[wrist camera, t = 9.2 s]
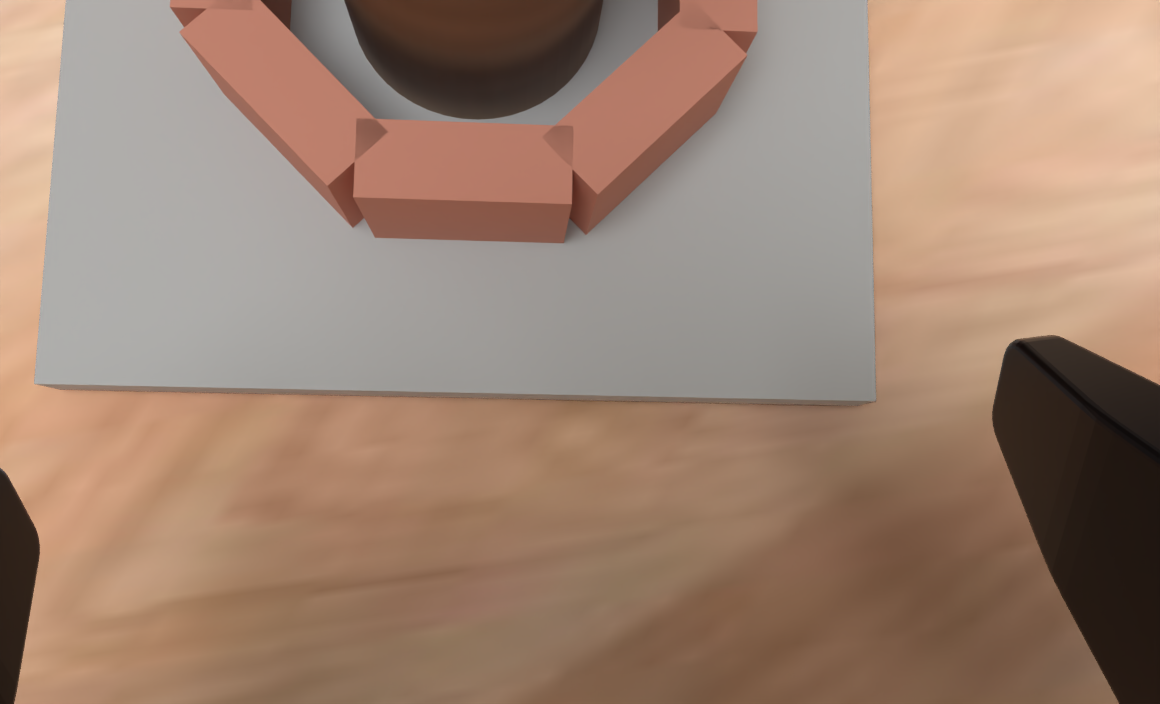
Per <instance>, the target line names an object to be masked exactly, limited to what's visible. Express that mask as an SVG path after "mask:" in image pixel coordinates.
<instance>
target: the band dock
mask: <svg viewBox="0 0 1160 704" xmlns="http://www.w3.org/2000/svg"><path fill="white" fill-rule="evenodd" d="M34 384H37V385H42V386H46V387H51V388H55V389H60V390H104V391H153V392H202V393H252V394H301V395H350V396H400V397H449V398H498V399H547V400H597V401H646V402H695V403H745V404H794V405H843V406H858V405H862V404H867V403H871V402H875V401H876V371H875V326H874V280H873V235H872V190H871V144H870V99H869V54H868V8H867V0H603V5H602V10H601V16H600V21H599V26H598V31H597V34H596V37H595V40H594V43H593V46H592V48H591V50H590V52H589V54H588V56H587V58H586V60H585V62H584V63H583V65H582V66H581V67H580V69H579V70H578V72H577V73H576V74H575V75H574V77H573V78H572V79H571V80H570V81H569V82H568V83H567V84H566V85H565V86H564V87H563V88H562V89H560V90H559V91H558V92H557V93H556V94H555V95H553V96H552V97H550V98H548V99H547V100H545V101H544V102H542V103H541V104H539V105H536V106H534V107H532V108H530V109H528V110H526V111H523V112H520V113H517V114H514V115H510V116H505V117H500V118H495V119H479V120H476V119H461V118H455V117H450V116H445V115H442V114H439V113H436V112H432V111H429V110H427V109H425V108H423V107H421V106H419V105H416V104H414V103H412V102H411V101H409V100H408V99H406V98H405V97H403V96H402V95H400V94H399V93H397V92H396V91H395V90H394V89H393V88H392V87H390V86H389V85H388V84H387V83H386V82H385V81H384V80H383V79H382V78H381V77H380V76H379V75H378V73H377V72H376V71H375V70H374V68H373V67H372V65H371V64H370V63H369V61H368V60H367V58H366V56H365V54H364V52H363V51H362V49H361V47H360V45H359V42H358V39H357V37H356V34H355V31H354V28H353V25H352V22H351V19H350V16H349V13H348V10H347V7H346V5H345V2H344V0H66V6H65V18H64V30H63V42H62V54H61V66H60V78H59V90H58V102H57V114H56V126H55V138H54V150H53V162H52V174H51V186H50V198H49V211H48V223H47V235H46V247H45V259H44V271H43V283H42V295H41V307H40V319H39V331H38V343H37V355H36V367H35V379H34Z"/></svg>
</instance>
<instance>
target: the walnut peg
mask: <svg viewBox="0 0 1160 704" xmlns="http://www.w3.org/2000/svg"><path fill="white" fill-rule="evenodd" d="M344 2H345V5H346V7H347V10H348V13H349V16H350V19H351V22H352V25H353V28H354V31H355V34H356V37H357V39H358V42H359V45H360V47H361V49H362V51H363V52H364V54H365V56H366V58H367V60H368V61H369V63H370V64H371V65H372V67H373V68H374V70H375V71H376V72H377V73H378V75H379V76H380V77H381V78H382V79H383V80H384V81H385V82H386V83H387V84H388V85H389V86H390V87H392V88H393V89H394V90H395V91H396V92H397V93H399V94H400V95H402V96H403V97H405V98H406V99H408V100H409V101H411V102H412V103H414V104H416V105H419V106H421V107H423V108H425V109H427V110H429V111H432V112H436V113H439V114H442V115H445V116H450V117H455V118H461V119H476V120H479V119H495V118H500V117H505V116H510V115H514V114H517V113H520V112H523V111H526V110H528V109H530V108H532V107H534V106H536V105H539V104H541V103H542V102H544V101H545V100H547V99H548V98H550V97H552V96H553V95H555V94H556V93H557V92H558V91H559V90H560V89H562V88H563V87H564V86H565V85H566V84H567V83H568V82H569V81H570V80H571V79H572V78H573V77H574V75H575V74H576V73H577V72H578V70H579V69H580V67H581V66H582V65H583V63H584V62H585V60H586V58H587V56H588V54H589V52H590V50H591V48H592V46H593V43H594V40H595V37H596V34H597V31H598V26H599V21H600V16H601V10H602V5H603V0H344Z"/></svg>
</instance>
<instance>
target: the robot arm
mask: <svg viewBox="0 0 1160 704" xmlns="http://www.w3.org/2000/svg"><path fill="white" fill-rule="evenodd" d="M992 420H993V427H994V432H995V435H996V438H997V441H998V443H999V446H1000V448H1001V451H1002V453H1003V456H1004V458H1005V461H1006V463H1007V466H1008V469H1009V471H1010V474H1011V476H1012V479H1013V481H1014V484H1015V486H1016V489H1017V491H1018V494H1019V497H1020V499H1021V502H1022V504H1023V507H1024V509H1025V512H1026V514H1027V517H1028V519H1029V522H1030V524H1031V527H1032V530H1033V532H1034V535H1035V537H1036V540H1037V542H1038V545H1039V547H1040V550H1041V552H1042V555H1043V557H1044V559H1045V562H1046V564H1047V566H1048V569H1049V571H1050V573H1051V575H1052V577H1053V579H1054V581H1055V583H1056V585H1057V587H1058V589H1059V591H1060V593H1061V595H1062V597H1063V599H1064V601H1065V603H1066V605H1067V607H1068V609H1069V610H1070V612H1071V614H1072V616H1073V618H1074V620H1075V622H1076V624H1077V625H1078V627H1079V629H1080V631H1081V633H1082V635H1083V637H1084V638H1085V640H1086V642H1087V644H1088V646H1089V648H1090V650H1091V652H1092V653H1093V655H1094V657H1095V659H1096V661H1097V663H1098V665H1099V666H1100V668H1101V670H1102V672H1103V674H1104V676H1105V678H1106V680H1107V681H1108V683H1109V685H1110V687H1111V689H1112V691H1113V693H1114V695H1115V696H1116V698H1117V700H1118V702H1119V704H1160V385H1158V384H1156V383H1154V382H1152V381H1150V380H1148V379H1146V378H1144V377H1142V376H1140V375H1138V374H1136V373H1134V372H1132V371H1130V370H1128V369H1126V368H1124V367H1122V366H1120V365H1118V364H1115V363H1113V362H1111V361H1109V360H1107V359H1105V358H1103V357H1101V356H1099V355H1097V354H1095V353H1093V352H1091V351H1089V350H1087V349H1085V348H1083V347H1081V346H1079V345H1077V344H1075V343H1073V342H1070V341H1068V340H1066V339H1064V338H1062V337H1060V336H1055V335H1047V336H1039V337H1031V338H1023V339H1017V340H1015V341H1013V342H1011V343H1010V344H1009V346H1008V347H1007V349H1006V351H1005V354H1004V358H1003V362H1002V367H1001V372H1000V377H999V381H998V386H997V391H996V395H995V400H994V405H993V411H992ZM39 555H40V544H39V537H38V534H37V531H36V528H35V526H34V524H33V522H32V520H31V518H30V516H29V515H28V513H27V511H26V509H25V507H24V505H23V503H22V502H21V500H20V498H19V496H18V494H17V492H16V490H15V488H14V487H13V485H12V483H11V481H10V479H9V477H8V476H7V474H6V473H5V472H4V471H3V470H2V469H1V468H0V704H14V701H15V697H16V692H17V687H18V681H19V675H20V669H21V663H22V657H23V651H24V645H25V639H26V634H27V628H28V622H29V616H30V610H31V604H32V598H33V592H34V586H35V580H36V574H37V568H38V563H39Z"/></svg>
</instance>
